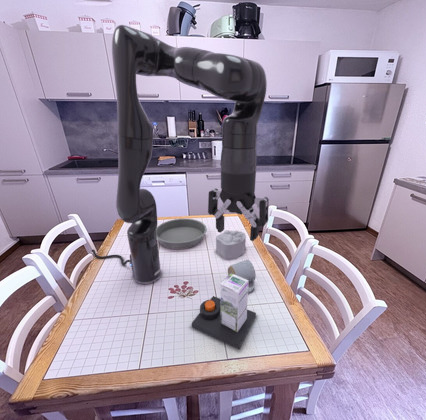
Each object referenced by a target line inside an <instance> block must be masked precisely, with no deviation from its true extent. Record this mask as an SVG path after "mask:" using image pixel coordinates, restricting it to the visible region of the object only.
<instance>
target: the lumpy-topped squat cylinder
mask: <svg viewBox="0 0 426 420" xmlns="http://www.w3.org/2000/svg"><path fill="white" fill-rule="evenodd" d="M246 241H247V235H246V234H245V232H243V231H239V230H229V229H226V230H223V232H221V233H220V234H218V235H216V237H215V252H216V254H217V255H219V256H220V257H221V258H222V259H223V260H228V261H229V260H234V259H237V258H239V257H241V256H243V255H244V254H245V252H246Z"/></svg>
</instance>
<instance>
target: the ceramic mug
mask: <svg viewBox="0 0 426 420" xmlns="http://www.w3.org/2000/svg"><path fill="white" fill-rule="evenodd" d="M231 273H232V274H235V275H237V276H239V277H242V278H244V279H246V280H248V281H249V283H251V282H252V287H251V289H248V294H249V293H251V292H253V291H254V289H255V285H256V284H255V282H256V281H255V280H256V277H257V276H256V270H255V266H254V265H253V263H252V261H251V260H249V259H244V260H242V261H238V262H235V263H234V264H231V265H230V266H228V268H227V276H229V275H230V274H231Z"/></svg>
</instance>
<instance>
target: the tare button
mask: <svg viewBox="0 0 426 420" xmlns="http://www.w3.org/2000/svg"><path fill="white" fill-rule="evenodd" d="M208 300H209V301H207V302H206V303H205V310H206V311H208V312H212V311H213V310H214V309H215V302H214V301H211V300H210V299H208Z"/></svg>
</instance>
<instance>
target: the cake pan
mask: <svg viewBox="0 0 426 420" xmlns="http://www.w3.org/2000/svg"><path fill="white" fill-rule="evenodd" d="M207 231H208V228H207V225H206V223H203V222H202V221H200V220H197V219H192V218H176V219H171V220H167V221H165V222H162V223H161V224H159V225H157V228H156V236H157V241H158V242H159V244H160V245H161V246H163V247H164V248H168V249H172V250H183V249H190V248H192V247H194V246H197V245H198V244H200V243H201V242H203V239H204V236H205V235H206V233H207Z"/></svg>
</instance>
